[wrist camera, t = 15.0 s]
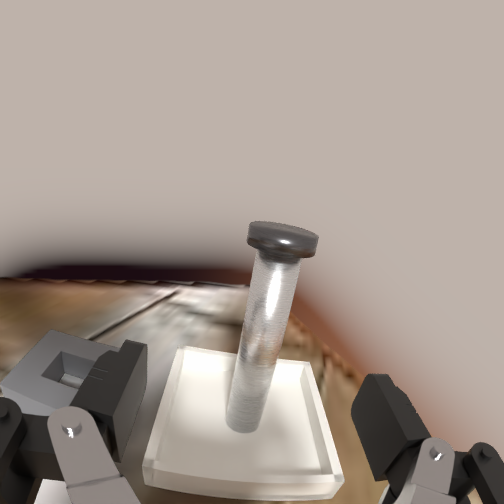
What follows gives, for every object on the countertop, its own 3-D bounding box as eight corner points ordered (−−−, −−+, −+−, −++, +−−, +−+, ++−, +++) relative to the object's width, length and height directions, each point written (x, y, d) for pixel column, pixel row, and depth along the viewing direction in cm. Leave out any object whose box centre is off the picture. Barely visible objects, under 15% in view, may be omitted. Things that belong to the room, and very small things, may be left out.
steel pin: (215, 436, 24) (250, 231, 19) (218, 401, 29) (249, 218, 24) (269, 441, 24) (326, 244, 19) (266, 407, 29) (310, 228, 24)
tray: (144, 484, 18) (141, 465, 17) (177, 365, 34) (178, 344, 34) (331, 498, 19) (344, 481, 18) (302, 381, 35) (309, 361, 35)
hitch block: (7, 406, 20) (-1, 383, 19) (54, 350, 30) (51, 329, 30) (106, 446, 21) (102, 424, 20) (137, 373, 31) (137, 352, 30)
